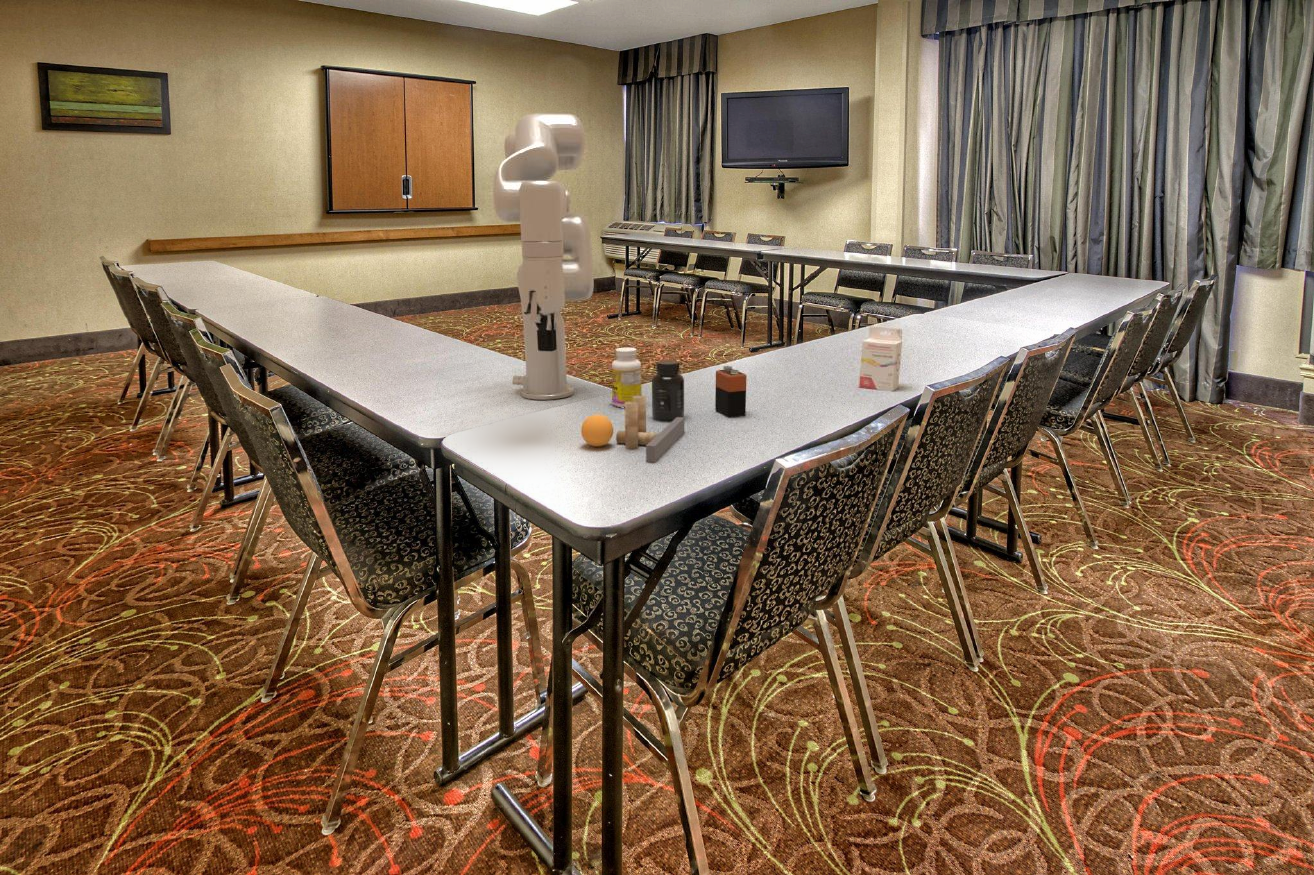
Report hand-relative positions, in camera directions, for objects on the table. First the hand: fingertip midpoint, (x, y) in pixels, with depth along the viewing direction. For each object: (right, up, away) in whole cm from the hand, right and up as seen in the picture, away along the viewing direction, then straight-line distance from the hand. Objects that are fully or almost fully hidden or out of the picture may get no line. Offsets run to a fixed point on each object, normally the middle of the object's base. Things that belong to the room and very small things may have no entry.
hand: (547, 350), depth 149 cm
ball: (+10, -15, -2) cm, 18 cm away
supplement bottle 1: (+14, -9, +29) cm, 33 cm away
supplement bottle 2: (+23, -13, +18) cm, 32 cm away
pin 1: (+16, -18, -2) cm, 25 cm away
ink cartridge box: (+75, -5, +44) cm, 87 cm away
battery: (+37, -12, +21) cm, 44 cm away
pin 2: (+18, -17, +2) cm, 25 cm away
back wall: (+23, -18, -2) cm, 29 cm away
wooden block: (+13, -16, 0) cm, 21 cm away
